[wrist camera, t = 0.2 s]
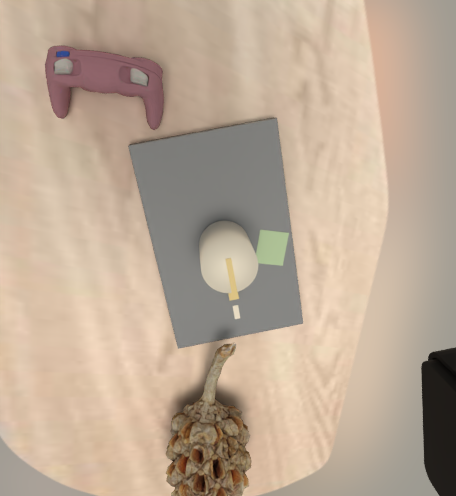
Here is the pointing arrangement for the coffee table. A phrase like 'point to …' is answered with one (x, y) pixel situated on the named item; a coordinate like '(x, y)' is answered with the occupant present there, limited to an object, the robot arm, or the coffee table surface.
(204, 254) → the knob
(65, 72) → the video game controller
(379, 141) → the coffee table surface
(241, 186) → the dial board
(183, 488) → the pine cone
